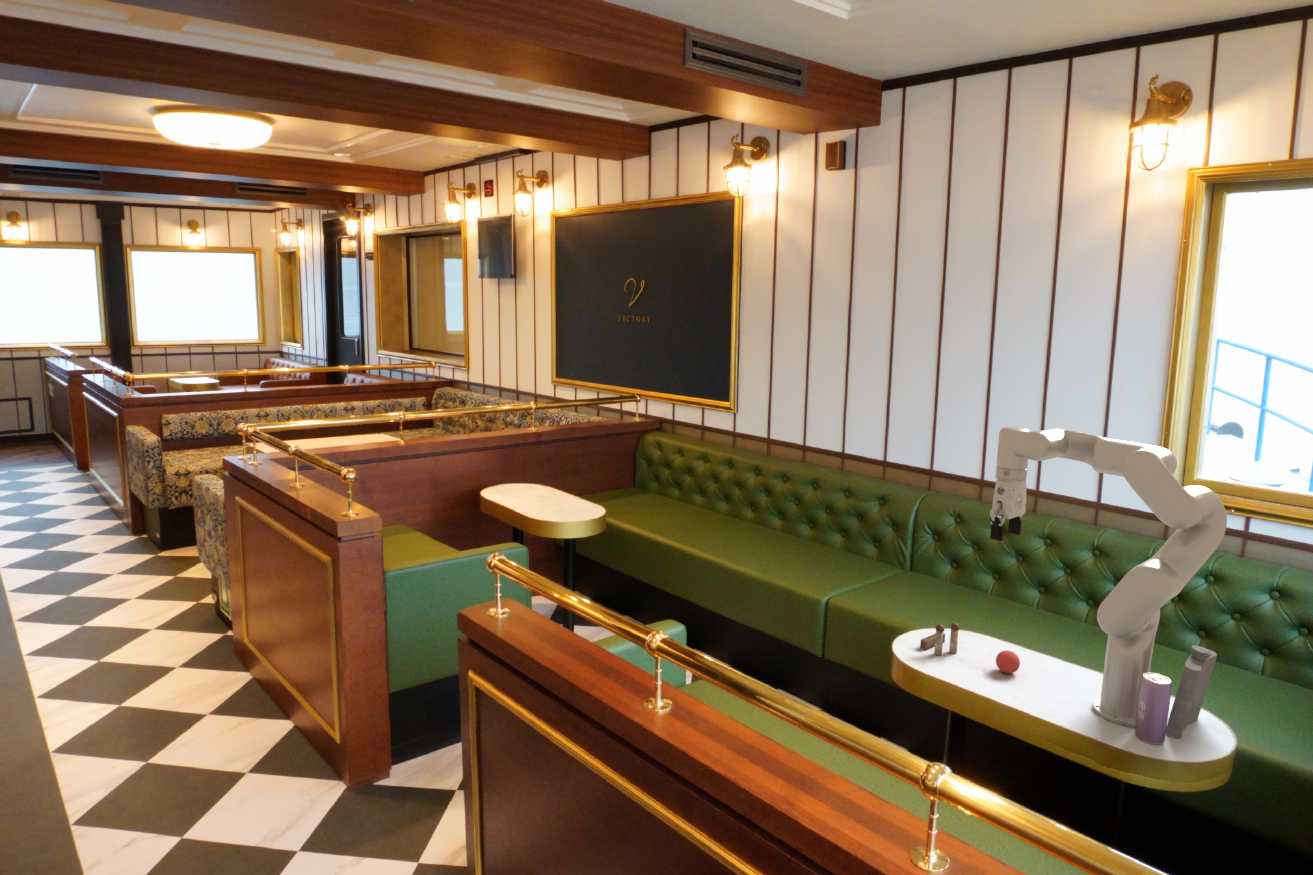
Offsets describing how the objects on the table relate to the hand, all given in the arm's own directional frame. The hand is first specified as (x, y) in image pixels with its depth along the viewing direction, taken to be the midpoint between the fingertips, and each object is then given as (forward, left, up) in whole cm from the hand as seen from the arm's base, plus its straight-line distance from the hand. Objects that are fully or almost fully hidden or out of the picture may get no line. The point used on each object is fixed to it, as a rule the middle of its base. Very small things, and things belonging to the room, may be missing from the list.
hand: (1005, 536), depth 217 cm
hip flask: (-39, +20, -37) cm, 58 cm away
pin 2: (+10, -7, -37) cm, 39 cm away
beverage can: (-30, +29, -38) cm, 56 cm away
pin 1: (+14, -5, -37) cm, 40 cm away
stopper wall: (+15, -11, -37) cm, 42 cm away
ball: (-3, +2, -34) cm, 35 cm away
